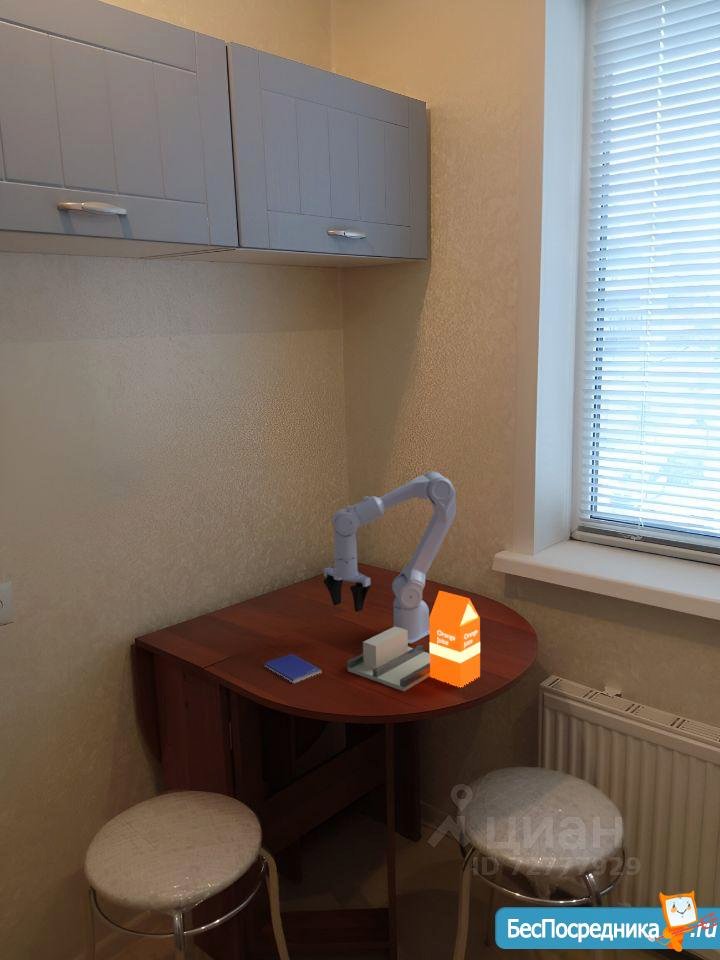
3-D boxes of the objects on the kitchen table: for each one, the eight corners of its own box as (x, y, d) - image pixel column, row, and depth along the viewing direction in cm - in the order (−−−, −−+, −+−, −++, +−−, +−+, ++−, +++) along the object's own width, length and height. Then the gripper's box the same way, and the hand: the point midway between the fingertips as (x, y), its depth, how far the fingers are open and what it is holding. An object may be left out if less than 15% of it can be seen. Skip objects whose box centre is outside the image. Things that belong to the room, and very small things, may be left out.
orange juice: (450, 665, 181) (449, 586, 177) (480, 676, 175) (480, 594, 171) (429, 677, 175) (428, 595, 171) (460, 688, 169) (459, 603, 165)
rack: (395, 646, 193) (395, 637, 192) (450, 664, 182) (450, 654, 181) (347, 670, 180) (347, 661, 179) (404, 691, 169) (404, 681, 168)
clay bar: (395, 649, 189) (394, 626, 188) (408, 653, 186) (407, 630, 185) (363, 665, 180) (362, 641, 179) (376, 670, 178) (375, 646, 176)
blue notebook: (321, 668, 179) (292, 653, 189) (293, 679, 174) (264, 662, 184) (321, 675, 179) (292, 659, 189) (293, 685, 174) (264, 668, 184)
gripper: (314, 555, 194) (316, 605, 197) (356, 565, 185) (358, 618, 187) (333, 549, 199) (335, 598, 202) (375, 558, 190) (376, 610, 192)
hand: (347, 607), depth 195 cm, fingers open, 7 cm apart
